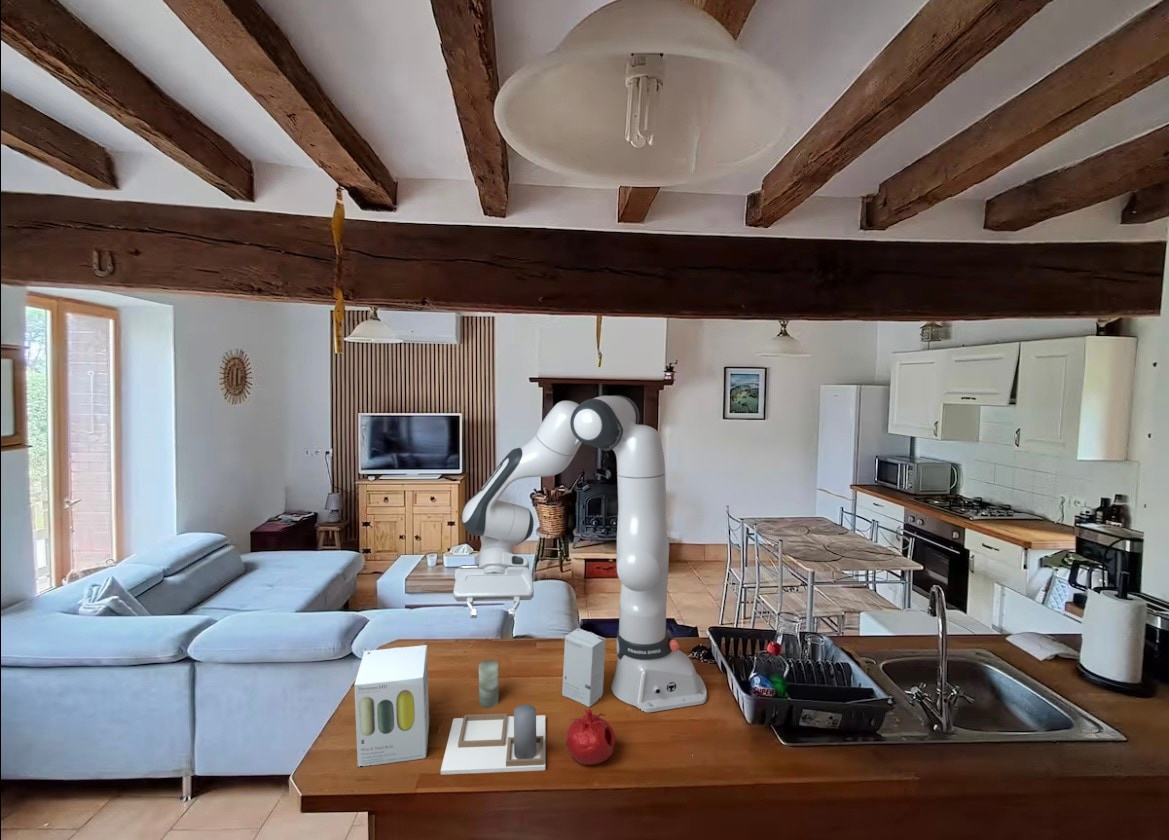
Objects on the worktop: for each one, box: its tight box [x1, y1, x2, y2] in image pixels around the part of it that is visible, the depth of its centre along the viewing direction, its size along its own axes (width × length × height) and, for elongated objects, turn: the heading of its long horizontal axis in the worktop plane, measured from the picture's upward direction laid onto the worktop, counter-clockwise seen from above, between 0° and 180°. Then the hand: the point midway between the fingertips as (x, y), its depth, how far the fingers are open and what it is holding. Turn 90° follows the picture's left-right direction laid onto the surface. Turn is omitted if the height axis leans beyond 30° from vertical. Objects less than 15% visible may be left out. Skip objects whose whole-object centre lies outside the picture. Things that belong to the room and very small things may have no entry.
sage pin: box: [478, 659, 500, 709], centre depth 135 cm, size 4×4×9 cm
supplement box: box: [354, 644, 430, 768], centre depth 120 cm, size 13×13×18 cm
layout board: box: [440, 703, 546, 776], centre depth 120 cm, size 20×16×10 cm
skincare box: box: [561, 628, 607, 708], centre depth 137 cm, size 8×6×15 cm
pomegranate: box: [565, 708, 616, 766], centre depth 117 cm, size 10×10×9 cm
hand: (492, 617), depth 145 cm, fingers open, 8 cm apart
